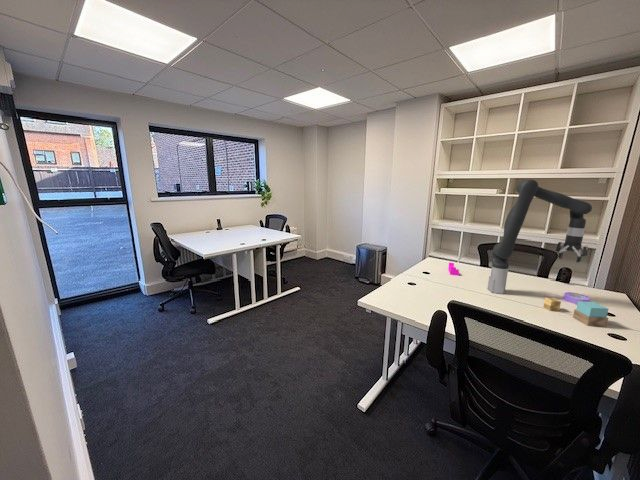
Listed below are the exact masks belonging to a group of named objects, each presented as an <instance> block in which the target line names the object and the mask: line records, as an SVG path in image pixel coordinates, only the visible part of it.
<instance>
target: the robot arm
mask: <svg viewBox="0 0 640 480" xmlns="http://www.w3.org/2000/svg"><path fill="white" fill-rule="evenodd" d="M515 190H516V191H517V193H518V197H517V200H516V202H515V203H514V205H513V206H512V207H511V209H510V210H509V212H508V213H507V216H506V218H505V222H504V224H503V225H504V226H503V237H502V239H501V241H500V242H498V243H496V244H495V245H494V246H493V247H492V254H491V270H490V275H489V276H488V282H487V288H486V289H487V291H489V292H491V293H495V294H505V292H506V287H507V279H508V273H509V269H510V268H509V267H510V263H509V258H510V257H511V256H512V255H513V252H514V249H515V244H516V241H517V238H518V236H519V233H520V231H521V229H522V227H523V224H524V223H525V219H526V217H527V214H528V211H529V208H530V205H531V203H532V201H533V199H534V198H537V199H539V200H542V201H544V202H547V203H550V204H552V205H554V206H558V207H560V208H561V209H562V208H563V209H567V210H569V223H568V227H567V230H566V235H565V238H564V242H563V241H559V242H557V245H556V249H555V251H556V252H557V253H558V255H557V256H558V257H557V258H559V259H561V260H562V259H563V256H564V253H565V252H566V251H570V252H575V254H577V256H576V257H577V258H576V262H575V263H580V262H581V261H582V258H583V257H587V256H588V250H589V246H588V245H582V243H583V239H584V236H585V227H586V222H587V220H586V219H585V218H584V215H586V214H589V213H590V212H592V210H593V206H592V205H591V204H590V203H589V202H587V201H583V200H580V199H577V198H573V197H571V196H569V195H566V194H563V193H561V192H557V191H554V190H550V189H547V188H543V187H540V186H539V184H538V182H537V181H536V180H535V179H523V180H521V181H519V182H518V183H517V184H516V186H515ZM562 247H563V248H562ZM581 249H582V251H581Z"/></svg>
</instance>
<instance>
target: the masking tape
mask: <svg viewBox="0 0 640 480" xmlns="http://www.w3.org/2000/svg"><path fill="white" fill-rule="evenodd" d="M563 294H564V295H563V300H564V301H566V302H568V303H571V304H574V305H577V304H578V301H582V302H591V297H589V296H588V295H585V294H583V293H578V292H571V291H570V292H568V291H567V292H564V293H563Z"/></svg>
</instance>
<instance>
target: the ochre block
mask: <svg viewBox="0 0 640 480" xmlns="http://www.w3.org/2000/svg"><path fill="white" fill-rule="evenodd" d="M543 308H544V309H545V310H548V311H549V312H560V309H561V300H558V299H557V298H555V297H545V298H544V303H543Z"/></svg>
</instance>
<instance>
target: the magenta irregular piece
mask: <svg viewBox="0 0 640 480" xmlns="http://www.w3.org/2000/svg"><path fill="white" fill-rule="evenodd" d="M447 269H448V272H449V275H451V276H460V270H459V269H457V267H456V266H455V263H454V262H448V268H447Z"/></svg>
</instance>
